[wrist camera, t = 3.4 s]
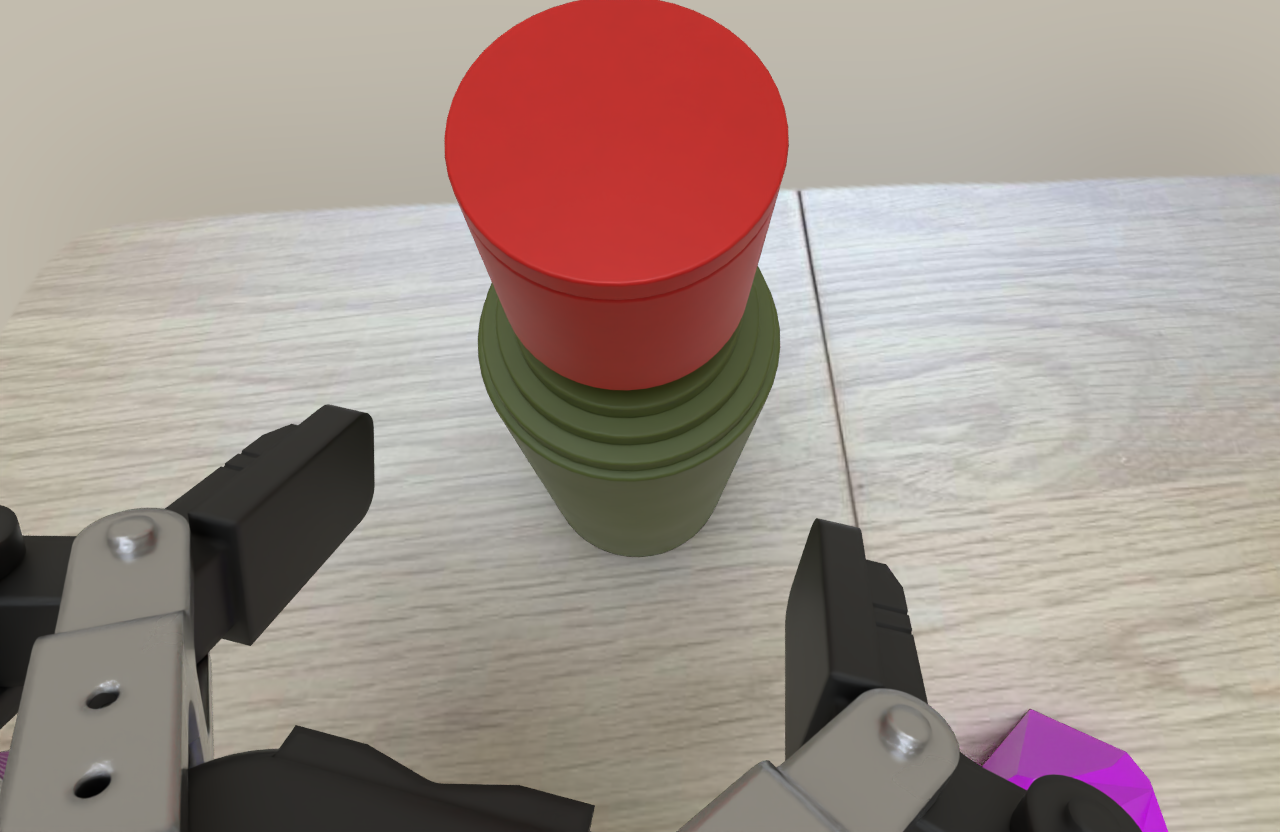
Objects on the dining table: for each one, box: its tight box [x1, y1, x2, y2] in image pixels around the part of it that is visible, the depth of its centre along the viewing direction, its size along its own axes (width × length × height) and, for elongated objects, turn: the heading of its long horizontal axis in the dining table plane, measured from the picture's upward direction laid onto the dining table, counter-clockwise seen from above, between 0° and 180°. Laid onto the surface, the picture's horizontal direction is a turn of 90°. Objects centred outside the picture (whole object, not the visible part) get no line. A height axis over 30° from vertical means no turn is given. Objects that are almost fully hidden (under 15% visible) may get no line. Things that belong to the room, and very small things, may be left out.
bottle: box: [478, 266, 780, 557], centre depth 18 cm, size 6×6×18 cm
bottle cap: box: [445, 0, 789, 390], centre depth 11 cm, size 4×4×4 cm
